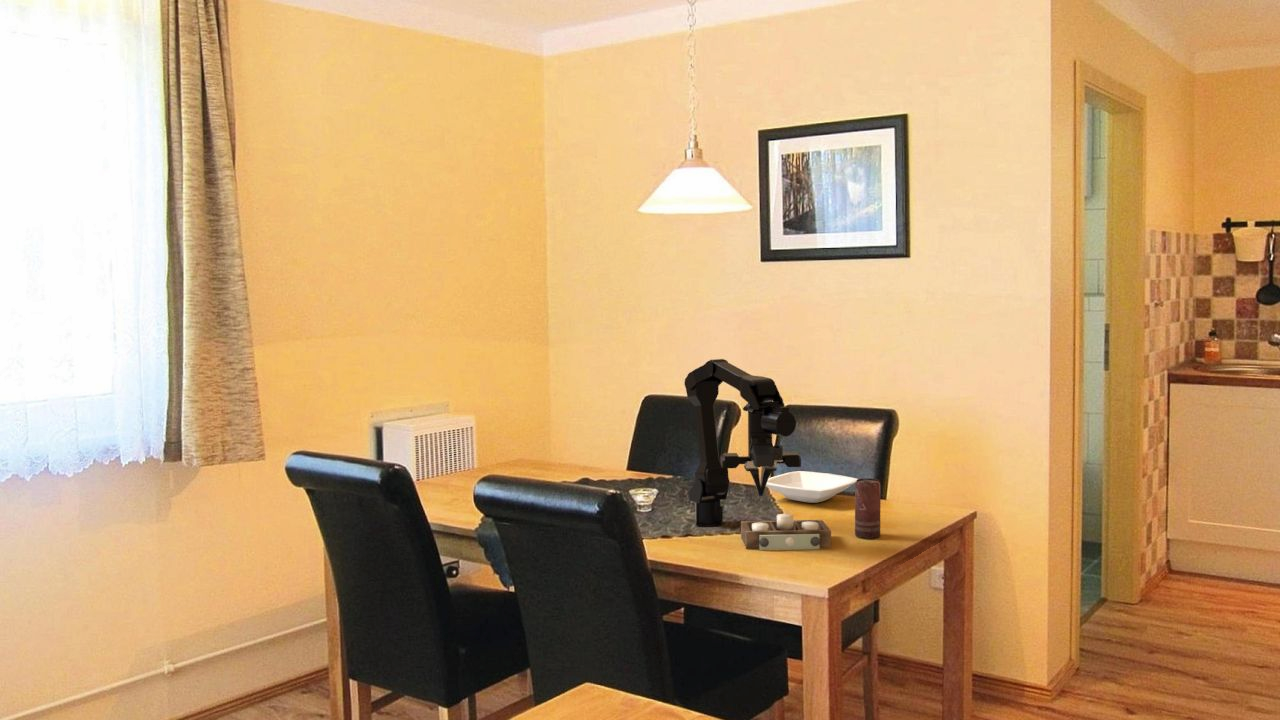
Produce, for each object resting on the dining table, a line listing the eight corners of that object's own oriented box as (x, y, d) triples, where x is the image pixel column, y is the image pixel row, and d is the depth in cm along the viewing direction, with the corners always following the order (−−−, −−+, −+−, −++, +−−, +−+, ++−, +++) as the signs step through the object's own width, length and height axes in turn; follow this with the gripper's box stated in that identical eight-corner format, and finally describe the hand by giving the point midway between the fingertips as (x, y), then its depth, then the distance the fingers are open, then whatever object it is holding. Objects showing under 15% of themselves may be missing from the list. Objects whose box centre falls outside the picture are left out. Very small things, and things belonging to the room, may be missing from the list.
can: (876, 540, 265) (876, 483, 264) (851, 537, 268) (851, 481, 267) (884, 535, 270) (885, 479, 269) (860, 532, 273) (860, 476, 272)
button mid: (778, 530, 262) (778, 517, 262) (775, 526, 266) (775, 513, 266) (794, 529, 262) (794, 517, 262) (792, 525, 266) (792, 513, 266)
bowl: (753, 502, 309) (753, 482, 309) (798, 488, 327) (798, 469, 326) (822, 513, 295) (822, 492, 294) (865, 498, 312) (865, 478, 312)
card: (759, 550, 258) (759, 535, 257) (759, 549, 258) (759, 535, 258) (819, 549, 258) (819, 534, 258) (819, 548, 259) (819, 533, 258)
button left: (753, 538, 262) (752, 526, 262) (751, 534, 266) (750, 522, 266) (769, 538, 263) (769, 526, 262) (767, 534, 267) (767, 522, 266)
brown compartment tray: (746, 548, 259) (746, 532, 259) (741, 537, 270) (741, 521, 270) (830, 547, 259) (830, 530, 259) (822, 535, 270) (822, 519, 270)
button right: (803, 537, 263) (803, 525, 262) (800, 533, 267) (800, 521, 266) (819, 537, 263) (819, 525, 262) (816, 533, 267) (816, 521, 266)
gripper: (724, 437, 254) (724, 503, 255) (804, 435, 254) (805, 502, 256) (719, 429, 265) (720, 493, 266) (797, 428, 265) (797, 492, 267)
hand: (760, 495), depth 263 cm, fingers closed
